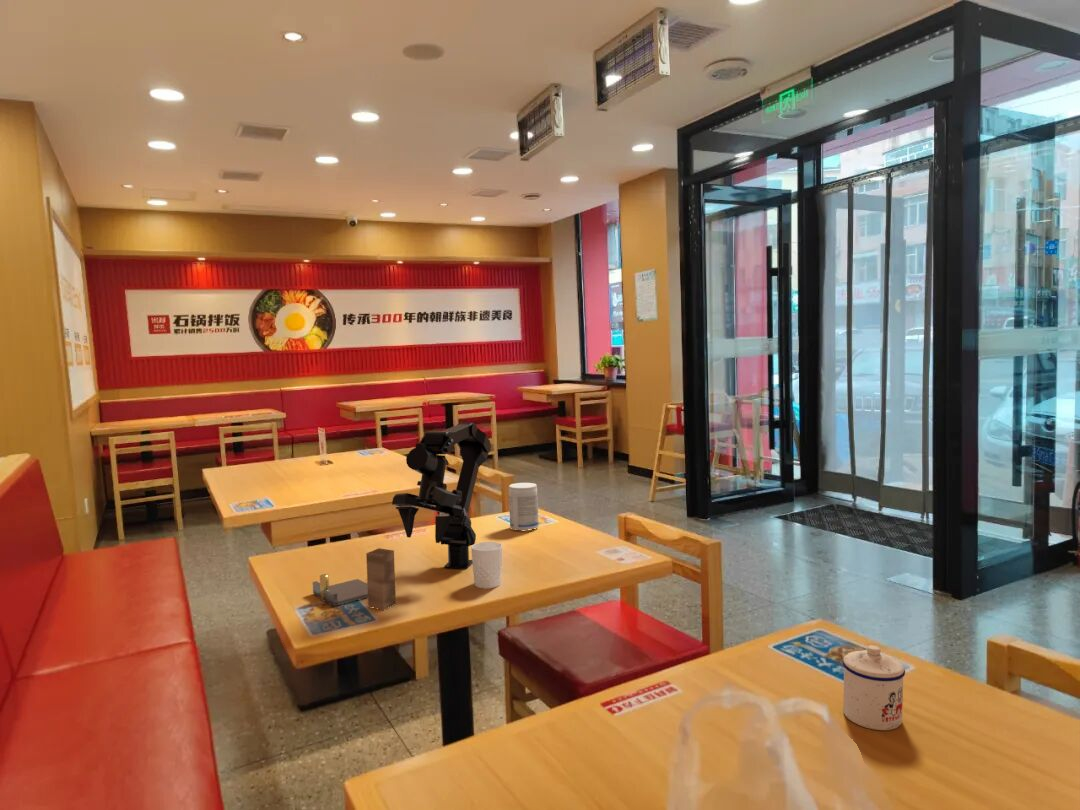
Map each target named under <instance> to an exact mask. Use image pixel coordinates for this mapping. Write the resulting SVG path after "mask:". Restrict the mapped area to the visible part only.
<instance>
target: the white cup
mask: <svg viewBox="0 0 1080 810" xmlns="http://www.w3.org/2000/svg"><path fill="white" fill-rule="evenodd" d="M470 547H471V548H470V549H471V560H472V563H471V565H472V572H473V573H472V574H473V584H474V586H475V587H477V588H480V589H493V588H494V589H495V588H497V587H500V585H501V583H502V567H503V545H502V543H499V542H496V541H481V542H478V543H477V542H475V544H474V545H470Z"/></svg>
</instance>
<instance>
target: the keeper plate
mask: <svg viewBox="0 0 1080 810" xmlns="http://www.w3.org/2000/svg"><path fill="white" fill-rule="evenodd" d="M313 593H314V594H315V595H314V594H313ZM312 594H313V595H314V596H316V595H317V596H319V597H320V598H319V597H318V598H319V599H320V601H321V600H325V601H327V602H328V603H330V604H331V605H330V604H329V605H330V606H332V605H333V606H335V607H338V606H337V605H339V606H341V605H340V604H343V605H345V604H344V603H346V604H348V603H347V602H350V603H352V602H351V601H354V602H356V601H355V600H358V601H360V600H359V599H362V600H364V599H363V598H365V599H368V598H367V597H368V583H367V582H364V581H363V580H360V579H359V578H355V579H352V580H348V581H344V582H339V583H336V584H332V585H330V582H329V574H328V573H327V574H325V573H323V574H321V575H319V581H312ZM317 596H316V597H317ZM325 601H324V602H325ZM327 602H326V603H327ZM328 603H327V604H328ZM333 606H332V607H333Z"/></svg>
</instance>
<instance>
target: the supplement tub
mask: <svg viewBox="0 0 1080 810" xmlns="http://www.w3.org/2000/svg"><path fill="white" fill-rule="evenodd" d="M537 485H538V484H536V483H533V482H516V483H511V484H510V485H509V486H508V507H509V510H508V511H509V528H510V529H511V528H512V529H516V530H528V529H534V528H537V527H538V528H539V525H540V523H539V499H538V498H539V497H538V486H537ZM538 528H537V529H538ZM512 529H511V530H512Z"/></svg>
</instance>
